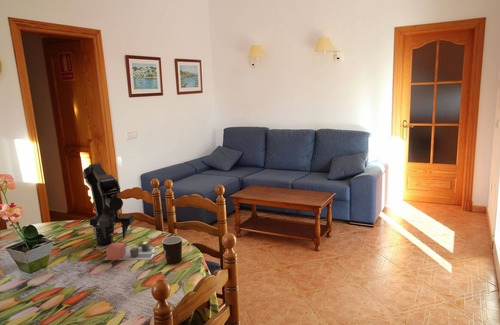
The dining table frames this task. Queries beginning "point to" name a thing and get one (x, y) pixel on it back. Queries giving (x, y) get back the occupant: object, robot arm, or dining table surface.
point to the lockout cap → (115, 250)
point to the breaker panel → (141, 256)
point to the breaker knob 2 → (145, 246)
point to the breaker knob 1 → (134, 252)
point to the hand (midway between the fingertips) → (114, 238)
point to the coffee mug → (173, 249)
